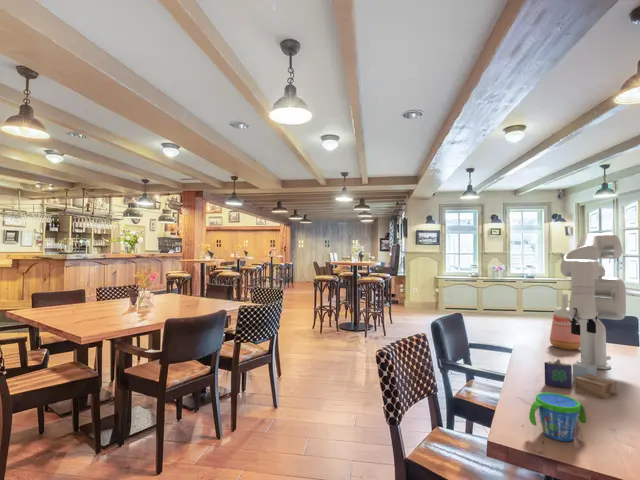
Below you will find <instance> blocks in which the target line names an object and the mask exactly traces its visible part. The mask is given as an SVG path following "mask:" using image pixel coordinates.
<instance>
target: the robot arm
mask: <svg viewBox="0 0 640 480" xmlns="http://www.w3.org/2000/svg"><path fill="white" fill-rule="evenodd" d="M622 253H623V246H622V243H621V240H620V237H619V236H618V235H617V234H615V233H611V232H608V233H606V232H605V233H601V232H600V233H587V234H585V235H583V236H582V237H581V238H580V239H579V243H578V244H577V246H576V248H575V249H572V250H570V251H568V252H566V253H565V254H564V255H563V257H562V259H561V262H560V268H559V269H560V273H561V275H563V276H564V277H567V278H571V281H570V282H571V293H570V298H569V304H568V306H569V313H568V317H569V320H570V324H571V333H572V334H575V335H580V346H581V348H580V358H578V359H576V363H585V364H589V365H593V366H596V367H597V370H610V369H611V368H612V365H611V363H608V362H607V361H609V360H611V358H612V357H611V356H610V355H607V330H606V329H607V328H606V326H605V324H603V322H602V321H601V320H600V319H604V320H605V319H606V320H615V321H621V320H624V318H625V317H626V313H627V304H626V303H627V301H626V299H627V297H626V295H627V294H626V293H627V292H626V291H627V290H626V284H625V282H624V280H623V279H622V278H619V277H612V276H611V277H610V276H607V277H606V270H605V267H604V266H603V265H602V263H600V261H598V260H599V259H603V260H605V259H606V260H607V259H608V260H611V259H613V260H615V259H619V258H620V257H621V256H622ZM575 319H576V320H577V321H576V320H575Z"/></svg>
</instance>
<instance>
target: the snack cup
mask: <svg viewBox="0 0 640 480" xmlns="http://www.w3.org/2000/svg"><path fill="white" fill-rule="evenodd" d="M537 410H538V413H539V419H540V423H541V424H540V425H541V430H542V432H543V433H544V435H545V436H546V437H548V438H550V439H553V440H555V441H559V442H570V441H574V440H575V437H576V431H577V425H578V424H577V423H578V421H579V423H582V424H584V425H585V424H586V423H587V422H588V421H587V420H588V419H587V413H586V410H585V406H584V405H583V404H582V403H580V402H579V401H578V400H576V399H575V398H573V397H570V396H567V395H565V394H561V393H556V392H540V393H537V394H536V395H535V401H534V402H533V403H532V404H531V406H530V411H529V417H528V419H529V422H530V423H531V424H532V425H534V426H538V425H537V419H536V411H537Z"/></svg>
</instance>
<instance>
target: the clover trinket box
mask: <svg viewBox="0 0 640 480" xmlns="http://www.w3.org/2000/svg"><path fill="white" fill-rule="evenodd" d="M543 364H544V386H545V387H549V388H557V389H559V388H560V389H573V364H571V363H563V362H562V360H561V358H556V361H550V360H549V361H545V362H544V363H543Z"/></svg>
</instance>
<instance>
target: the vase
mask: <svg viewBox="0 0 640 480" xmlns="http://www.w3.org/2000/svg"><path fill="white" fill-rule="evenodd" d="M568 313H569V295H568V293H562V294H561V306H558V307H555V308H554V310H553V317H552V320H551V322H552V323H551V329H550V334H549V342H550V344H551V345H552V346H553V347H555V348H557V349H561V350H567V351H576V350H579V349H581V346H580V335H575V334H572V333H571V324H570V320H569V317H568ZM575 320H576V319H575ZM576 321H577V320H576Z"/></svg>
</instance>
